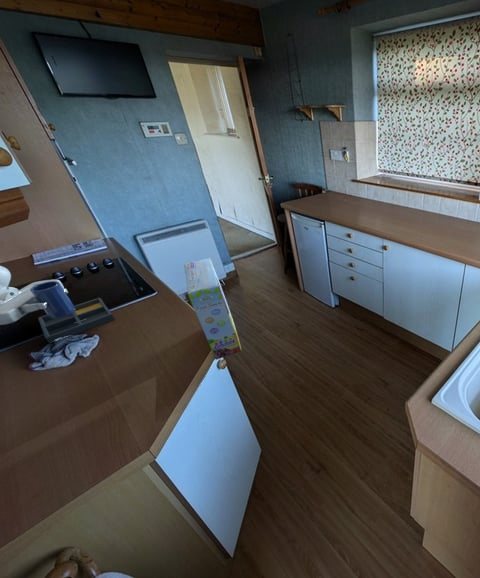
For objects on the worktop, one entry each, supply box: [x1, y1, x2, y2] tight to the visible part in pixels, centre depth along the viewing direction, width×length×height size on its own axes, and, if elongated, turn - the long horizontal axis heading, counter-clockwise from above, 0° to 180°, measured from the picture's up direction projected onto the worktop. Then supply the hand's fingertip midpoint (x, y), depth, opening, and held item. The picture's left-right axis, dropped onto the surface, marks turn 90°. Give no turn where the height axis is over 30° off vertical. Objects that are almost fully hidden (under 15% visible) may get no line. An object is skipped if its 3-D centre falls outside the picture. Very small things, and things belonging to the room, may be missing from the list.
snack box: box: [183, 257, 243, 360], centre depth 95 cm, size 22×9×26 cm, turn 33°
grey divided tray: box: [37, 297, 116, 344], centre depth 108 cm, size 18×18×3 cm
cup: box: [30, 281, 76, 318], centre depth 91 cm, size 6×6×10 cm
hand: (56, 298), depth 91 cm, fingers closed on cup, 6 cm apart
